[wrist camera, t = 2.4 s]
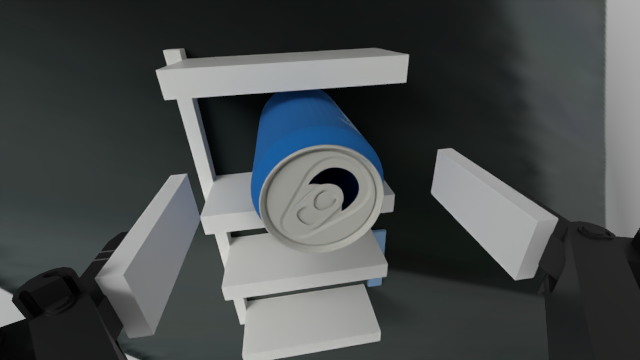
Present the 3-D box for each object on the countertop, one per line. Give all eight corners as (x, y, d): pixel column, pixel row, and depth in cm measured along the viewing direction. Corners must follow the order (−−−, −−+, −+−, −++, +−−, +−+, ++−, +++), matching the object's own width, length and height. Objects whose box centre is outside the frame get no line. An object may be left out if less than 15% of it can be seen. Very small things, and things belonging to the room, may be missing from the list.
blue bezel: (370, 230, 29) (371, 233, 29) (384, 228, 30) (386, 231, 29) (367, 284, 33) (368, 286, 33) (380, 282, 33) (381, 284, 33)
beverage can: (355, 122, 24) (420, 198, 13) (301, 174, 25) (322, 278, 15) (298, 63, 21) (324, 100, 10) (242, 126, 22) (216, 213, 12)
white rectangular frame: (168, 49, 19) (129, 57, 14) (375, 38, 21) (410, 41, 15) (241, 315, 33) (235, 369, 27) (363, 296, 34) (379, 344, 29)
